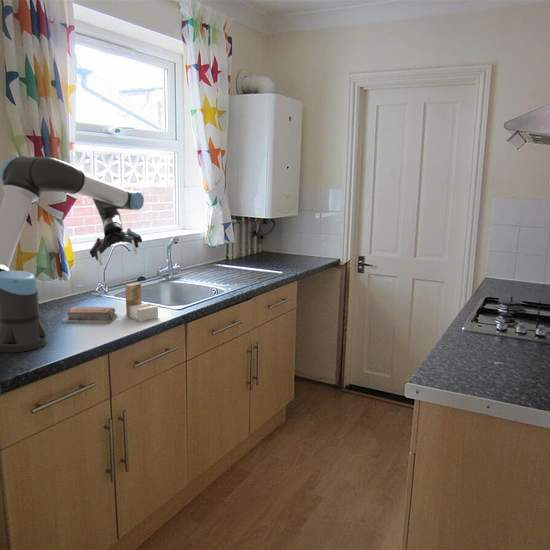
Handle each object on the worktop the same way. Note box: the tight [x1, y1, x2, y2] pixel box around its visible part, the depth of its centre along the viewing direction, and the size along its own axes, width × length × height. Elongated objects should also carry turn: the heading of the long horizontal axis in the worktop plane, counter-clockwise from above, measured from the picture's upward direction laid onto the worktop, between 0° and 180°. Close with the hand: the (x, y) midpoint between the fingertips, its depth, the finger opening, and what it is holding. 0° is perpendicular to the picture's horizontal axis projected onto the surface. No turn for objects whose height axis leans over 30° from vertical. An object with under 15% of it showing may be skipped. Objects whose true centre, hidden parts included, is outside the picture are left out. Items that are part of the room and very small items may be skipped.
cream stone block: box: [129, 302, 159, 322], centre depth 200 cm, size 8×7×4 cm
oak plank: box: [125, 282, 143, 317], centre depth 204 cm, size 5×3×12 cm, turn 136°
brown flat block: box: [60, 306, 118, 324], centre depth 197 cm, size 18×5×10 cm
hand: (118, 256), depth 199 cm, fingers open, 13 cm apart
